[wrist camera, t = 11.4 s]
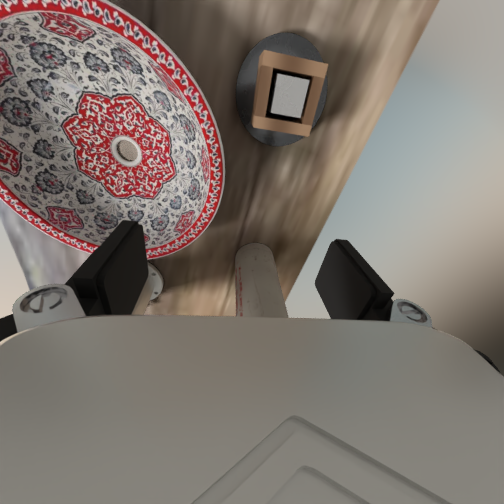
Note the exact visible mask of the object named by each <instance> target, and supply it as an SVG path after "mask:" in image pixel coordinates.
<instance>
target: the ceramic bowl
mask: <svg viewBox="0 0 504 504" xmlns="http://www.w3.org/2000/svg"><path fill="white" fill-rule="evenodd" d="M122 140H127V141H130V142H131V143H133V144H134V146H135V147H136V149H137V151H138V157H137V159H136V160H134V161H127V160H124V159H123V158H122V157H121V156H120V155H119V153H118V151H117V144H118V143H119V142H120V141H122ZM224 184H225V158H224V150H223V145H222V140H221V136H220V132H219V129H218V126H217V123H216V120H215V118H214V115H213V113H212V110H211V108H210V106H209V104H208V102H207V100H206V98H205V96H204V94H203V92H202V90H201V89H200V87H199V85H198V84H197V82H196V81H195V79H194V77H193V76H192V75H191V73H190V72H189V70H188V69H187V68H186V66H185V65H184V64H183V62H182V61H181V60H180V59H179V58H178V57H177V55H176V54H175V53H174V52H173V51H172V50H171V48H170V47H169V46H168V45H167V44H166V43H165V42H164V41H163V40H162V39H161V38H160V37H159V36H158V35H156V34H155V33H154V32H153V31H152V30H151V29H149V28H148V27H147V26H146V25H145V24H143V23H142V22H141V21H140V20H138V19H137V18H135V17H134V16H132V15H131V14H130V13H128V12H127V11H125V10H124V9H122V8H120V7H119V6H117V5H115V4H113V3H112V2H110V1H108V0H0V199H1V200H2V201H3V202H4V203H5V204H7V205H8V206H9V207H10V208H11V209H12V210H13V211H14V212H16V213H17V214H18V215H19V216H21V217H22V218H23V219H25V220H26V221H27V222H29V223H30V224H32V225H33V226H34V227H36V228H37V229H39V230H41V231H42V232H44V233H45V234H47V235H49V236H51V237H53V238H54V239H56V240H58V241H60V242H62V243H64V244H67V245H69V246H71V247H73V248H76V249H78V250H81V251H84V252H87V253H90V254H92V253H93V252H94V251H95V250H96V249H97V248H98V247H99V246H100V245H101V244H102V243H103V242H104V241H105V240H106V238H107V237H108V236H109V235H110V234H111V233H112V232H113V230H114V229H115V228H116V227H117V226H118V225H119V224H120V222H121V221H122V220H130V221H137V222H138V223H139V224H140V225H142V226H143V231H144V239H145V246H146V254H147V260H148V259H154V258H159V257H163V256H167V255H170V254H172V253H175V252H177V251H179V250H181V249H183V248H185V247H186V246H188V245H190V244H191V243H192V242H193V241H195V240H196V239H197V238H198V237H199V236H200V235H201V234H202V233H203V232H204V231H205V230H206V229H207V227H208V226H209V224H210V223H211V222H212V220H213V218H214V216H215V214H216V212H217V210H218V208H219V205H220V202H221V199H222V195H223V190H224Z"/></svg>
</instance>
